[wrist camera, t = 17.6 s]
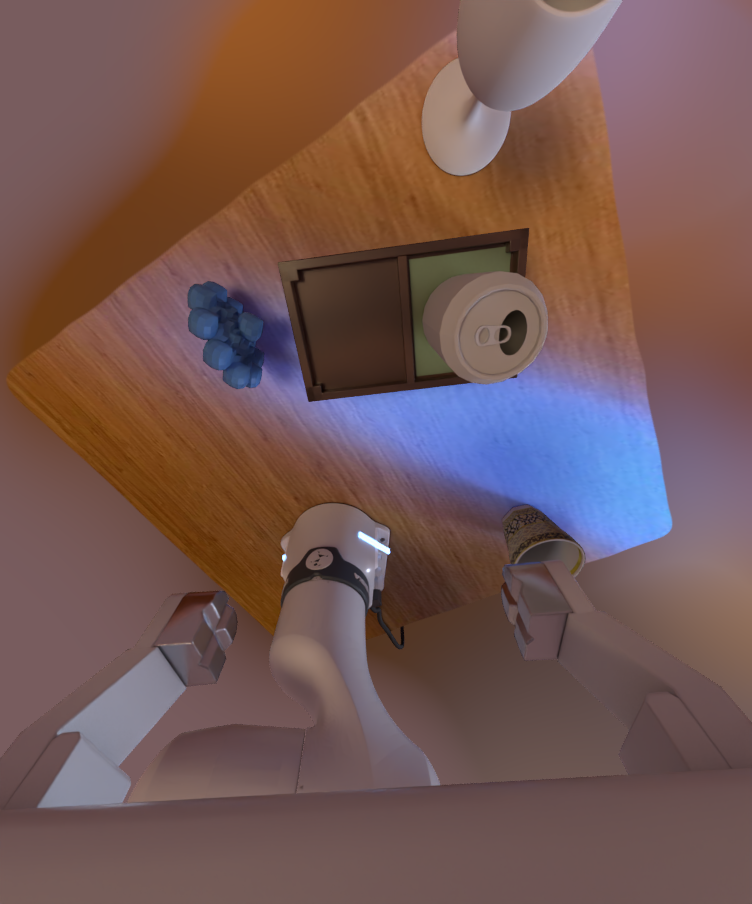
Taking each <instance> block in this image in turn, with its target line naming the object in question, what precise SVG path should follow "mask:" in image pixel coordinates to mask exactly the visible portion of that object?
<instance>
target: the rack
mask: <svg viewBox="0 0 752 904" xmlns="http://www.w3.org/2000/svg"><path fill="white" fill-rule="evenodd" d="M528 236H529V228H524V229H517V230H510V231H503V232H495V233H488V234H481V235H474V236H466V237H459V238H452V239H445V240H438V241H430V242H423V243H416V244H409V245H401V246H394V247H387V248H380V249H372V250H365V251H358V252H351V253H343V254H336V255H329V256H322V257H314V258H307V259H300V260H292V261H285V262H278V267H279V271H280V276H281V280H282V285H283V289H284V294H285V298H286V303H287V307H288V312H289V316H290V321H291V325H292V330H293V334H294V339H295V343H296V348H297V352H298V357H299V361H300V365H301V370H302V374H303V379H304V383H305V388H306V393H307V397H308V401H309V402H312V401H320V400H328V399H337V398H345V397H354V396H363V395H371V394H380V393H388V392H397V391H406V390H414V389H423V388H431V387H440V386H448V385H457V384H466V383H472V382H469V381H467V380H465V379H463V378H461V377H459V376H458V375H457V374H456V373H455V372H454V371H453V370H452V369H451V368H450V367H449V366H448V365H447V364H446V363H445V362H444V360H443V359H442V358H441V357H440V356H439V355H438V354H437V352H436V351H435V350H434V349H433V348H432V347H431V346H430V344H429V343H428V341H427V339H426V336H425V334H424V330H423V322H422V319H423V313H424V307H425V305H426V303H427V301H428V299H429V297H430V295H431V294H432V292H433V291H434V290H435V289H436V288H437V287H438V286H439V285H440V284H441V283H443V282H444V281H446V280H448V279H449V278H451V277H454V276H459V275H463V274H472V273H484V272H496V271H503V272H510V273H518V274H519V275H521V276H523V277H525V273H526V261H527V248H528ZM510 378H517V374H516V375H514V376H512V377H510ZM508 379H509V378H508Z"/></svg>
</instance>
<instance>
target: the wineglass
mask: <svg viewBox="0 0 752 904" xmlns="http://www.w3.org/2000/svg"><path fill="white" fill-rule="evenodd" d="M621 2H622V0H460V6H459V12H458V21H457V50H458V58H457V59H455V60H453V61H451V62H450V63H449V64H447V65H446V66H445V67H444V68H443V69H442V70H441V71H440V72H439V73H438V75H437V76H436V77H435V79H434V80H433V82H432V84H431V86H430V88H429V90H428V93H427V95H426V98H425V102H424V106H423V112H422V133H423V139H424V143H425V146H426V149H427V151H428V153H429V155H430V157H431V158H432V160H433V161H434V162H435V164H436V165H437V166H438V167H440V168H441V169H442V170H444V171H445V172H447V173H450V174H453V175H460V176H462V175H469V174H472V173H475V172H477V171H479V170H481V169H482V168H484V167H485V166H486V165H487V164H488V163H490V162H491V160H492V159H493V158H494V157H495V156H496V154H497V153H498V151H499V150H500V148H501V146H502V144H503V142H504V140H505V138H506V135H507V132H508V128H509V123H510V117H511V111H515V110H519V109H522V108H525V107H527V106H530V105H532V104H533V103H535V102H537V101H538V100H540V99H541V98H543V97H544V96H546V95H547V94H548V93H549V92H551V91H552V90H553V89H554V88H555V87H556V86H558V85H559V84H560V83H561V82H562V81H563V80H564V79H565V78H566V77H567V76H568V75H569V74H570V73H571V72H572V71H573V69H574V68H575V67H576V66H577V65H578V64H579V63H580V61H581V60H582V59H583V58H584V57H585V55H586V54H587V53H588V52H589V50H590V49H591V48H592V46H593V45H594V44H595V42H596V41H597V39H598V38H599V36H600V35H601V33H602V32H603V30H604V29H605V28H606V26H607V25H608V23H609V22H610V20H611V19H612V17H613V15H614V14H615V12H616V10H617V8H618V7H619V6H620V4H621Z"/></svg>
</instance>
